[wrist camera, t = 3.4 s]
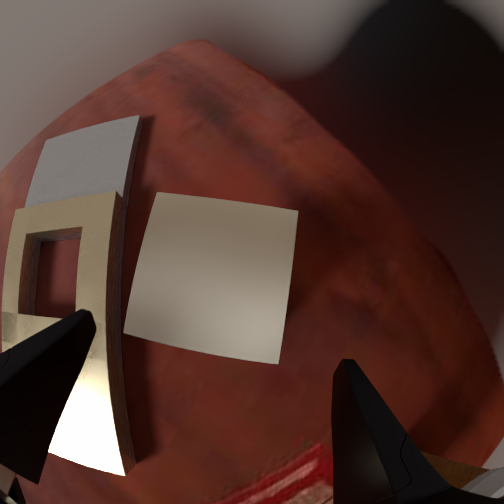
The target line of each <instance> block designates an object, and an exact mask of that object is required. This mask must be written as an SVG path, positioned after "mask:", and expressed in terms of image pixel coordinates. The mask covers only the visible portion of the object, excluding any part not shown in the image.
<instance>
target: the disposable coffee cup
mask: <svg viewBox="0 0 504 504" xmlns="http://www.w3.org/2000/svg"><path fill="white" fill-rule="evenodd" d="M420 452H421V453H422V454H423V455H424V457H425V458H426V459H427V460H428V461H429V462H430V463H431V465H432V466H433V467H434V468H435V469H436V470H437V471H438V472H439V474H440V475H441V476H442V477H443V478H444V479H445V480H446V481H447V482H448V483H449V484H451V485H452V486H454V487H456V488H458V489H462V490H465V491H468V492H472V493H476V494H479V495H483V496H488V497H492V498H499V497H501V496H503V495H504V467H503V468H499V469H498V468H496V469H492V470H490V469H484V468H479V467H476V466H471V465H466V464H463V463H460V462H455V461H453V460H448V459H444V458H442V457H438V456H434V455H432V454H429V453H426V452H423V451H420Z"/></svg>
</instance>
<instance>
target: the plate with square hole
mask: <svg viewBox="0 0 504 504" xmlns="http://www.w3.org/2000/svg"><path fill="white" fill-rule="evenodd" d="M142 126H143V121H142V119H141V117H140V115H138V116H132V117H128V118H123V119H118V120H114V121H110V122H106V123H102V124H98V125H94V126H90V127H86V128H83V129H79V130H76V131H73V132H70V133H66V134H63V135H60V136H57V137H54V138H51V139H48V140H46V142H45V145H44V147H43V150H42V153H41V155H40V158H39V161H38V164H37V167H36V170H35V173H34V176H33V179H32V182H31V186H30V189H29V193H28V196H27V200H26V204H25V208H21V209H17V210H16V211H15V215H14V219H13V223H12V228H11V233H10V238H9V244H8V250H7V257H6V264H5V272H4V283H3V296H2V351H3V352H4V351H6V350H8V349H9V348H12V347H13V346H14V345H16V344H18V343H20V342H22V341H23V340H25V339H27V338H29V337H30V336H32V335H34V334H36V333H37V332H39V331H41V330H43V329H45V328H46V327H48V326H50V325H52V324H54V323H56V322H57V321H59V320H61V318H51V317H41V316H35V306H36V287H37V275H38V265H39V257H40V249H41V243H42V242H49V241H58V240H68V239H79V238H81V243H80V251H79V260H78V272H77V286H76V311H78V310H80V309H86V310H89V311H91V312H92V315H93V318H94V321H95V324H96V328H97V329H96V334H95V336H94V339H93V342H92V344H91V347H90V350H89V352H88V355H87V358H86V361H85V363H84V366H83V368H82V370H81V372H80V374H79V376H78V379H77V381H76V383H75V385H74V387H73V390H72V392H71V394H70V397H69V399H68V401H67V404H66V406H65V408H64V411H63V413H62V416H61V418H60V421H59V423H58V426H57V429H56V431H55V434H54V437H53V439H52V442H51V445H50V448H49V452H51V453H54V454H56V455H59V456H61V457H64V458H66V459H69V460H72V461H75V462H77V463H80V464H83V465H86V466H90V467H93V468H96V469H100V470H103V471H107V472H110V473H114V474H118V475H123V476H126V475H127V474H128V473H129V472H130V470H131V469H132V468H133V467H134V466H135V465H136V464H137V463H136V458H135V454H134V449H133V443H132V438H131V432H130V426H129V419H128V412H127V405H126V396H125V387H124V376H123V363H122V344H121V279H122V260H123V246H124V235H125V225H126V216H127V208H128V201H129V194H130V187H131V181H132V175H133V169H134V164H135V158H136V153H137V148H138V144H139V139H140V134H141V130H142Z"/></svg>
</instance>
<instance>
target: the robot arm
mask: <svg viewBox="0 0 504 504" xmlns="http://www.w3.org/2000/svg"><path fill="white" fill-rule="evenodd" d="M96 329H97V328H96V324H95V321H94V318H93V315H92V312H91V311H89V310H86V309H80V310H78V311H76V312H74V313H72V314H70V315H68V316H67V317H65V318H63V319H61V320H59V321H57V322H56V323H54V324H52V325H50V326H48V327H46V328H45V329H43V330H41V331H39V332H37V333H36V334H34V335H32V336H30V337H29V338H27V339H25V340H23V341H22V342H20V343H18V344H16V345H14V346H13V347H12V348H9V349H8V350H6V351H4V352H2V353H0V504H25V503H26V501H25V498H24V496H23V493H22V490H21V488H20V485H19V482H18V479H17V477H16V474H18V475H20V476H22V477H24V478H26V479H27V480H29V481H31V482H33V483H35V484H37V485H38V483H39V480H40V477H41V473H42V470H43V467H44V464H45V460H46V457H47V454H48V451H49V448H50V445H51V442H52V439H53V437H54V434H55V431H56V429H57V426H58V423H59V421H60V418H61V416H62V413H63V411H64V408H65V406H66V404H67V401H68V399H69V397H70V394H71V392H72V390H73V387H74V385H75V383H76V381H77V379H78V376H79V374H80V372H81V370H82V368H83V366H84V363H85V361H86V358H87V355H88V352H89V350H90V347H91V344H92V342H93V339H94V336H95V334H96ZM331 423H332V443H333V504H504V495H503V496H501V497H499V498H492V497H488V496H483V495H479V494H476V493H472V492H468V491H465V490H462V489H458V488H456V487H454V486H452V485H451V484H449V483H448V482H447V481H446V480H445V479H444V478H443V477H442V476H441V475H440V474H439V472H438V471H437V470H436V469H435V468H434V467H433V466H432V465H431V463H430V462H429V461H428V460H427V459H426V458H425V457H424V455H423V454H422V453H421V452H420V450H419V449H418V448H417V446H416V445H415V444H414V442H413V441H412V440H411V438H410V437H409V435H408V434H406V431H405V430H404V428H403V427H402V425H401V424H400V423H399V421H398V420H397V418H396V417H395V416H394V414H393V413H392V411H391V410H390V409H389V407H388V406H387V404H386V403H385V402H384V400H383V399H382V397H381V396H380V395H379V393H378V392H377V390H376V389H375V388H374V386H373V385H372V384H371V382H370V381H369V379H368V378H367V377H366V375H365V374H364V373H363V371H362V370H361V368H360V367H359V366H358V364H357V363H356V362H355V361H354V360H353V359H342V360H341V362H340V363H339V365H338V367H337V369H336V371H335V372H334V375H333V391H332V410H331Z"/></svg>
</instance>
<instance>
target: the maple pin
mask: <svg viewBox="0 0 504 504" xmlns="http://www.w3.org/2000/svg"><path fill="white" fill-rule="evenodd" d="M297 218H298V211H296V210H290V209H284V208H277V207H271V206H264V205H258V204H251V203H244V202H237V201H229V200H222V199H214V198H206V197H197V196H189V195H180V194H170V193H160V192H157V194H156V197H155V200H154V204H153V207H152V210H151V213H150V217H149V220H148V224H147V227H146V231H145V235H144V238H143V242H142V246H141V250H140V254H139V258H138V262H137V266H136V270H135V275H134V279H133V284H132V288H131V293H130V298H129V303H128V308H127V314H126V320H125V325H124V331H123V333H125V334H129V335H132V336H136V337H140V338H143V339H147V340H151V341H155V342H159V343H163V344H167V345H171V346H175V347H180V348H184V349H189V350H194V351H198V352H203V353H208V354H214V355H219V356H225V357H231V358H237V359H243V360H249V361H256V362H263V363H271V364H278V362H279V356H280V350H281V344H282V337H283V330H284V324H285V317H286V310H287V302H288V295H289V287H290V279H291V272H292V263H293V255H294V246H295V237H296V228H297Z"/></svg>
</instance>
